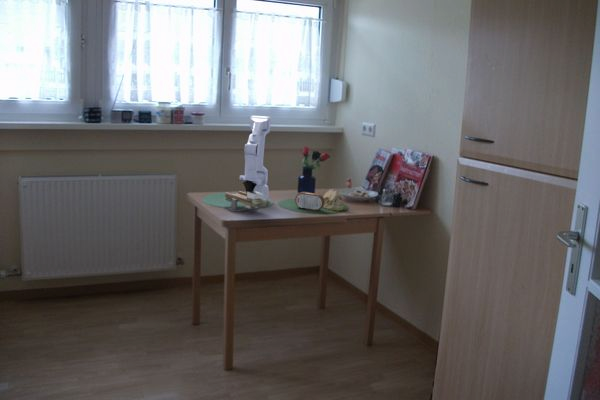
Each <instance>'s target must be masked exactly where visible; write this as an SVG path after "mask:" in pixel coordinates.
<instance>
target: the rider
mask: <svg viewBox="0 0 600 400" xmlns="http://www.w3.org/2000/svg"><path fill="white" fill-rule="evenodd" d="M247 199H248V200H251V201H252V200H261V199H263V193H260V192H257V191H249V192H247Z"/></svg>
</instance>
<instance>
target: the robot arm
mask: <svg viewBox="0 0 600 400" xmlns="http://www.w3.org/2000/svg"><path fill="white" fill-rule="evenodd" d="M249 119H250V120H249V126H250V129H251V132H252V133H250V134H249V136H248V139H247V143H246V144H244V149H243V150H244V174H240V175H239V180H243V182H242V184H243V186H244V189H245V191H246V192H245V193H247V192H249V191H257V192H260V193H263V199H268V203H269V202H270V200H269V190H270V189H269V185H267V184H268V179H269V176H268V172H269V171H268V169H267V168H266V167H265V166H264V156H265V155H264V154H265V144H266V143H265V142H266V141H265V140H266V136H267V134H269V133H270V131H271V125H272V124H271V117H270V116H262V115H251V116H250V118H249Z"/></svg>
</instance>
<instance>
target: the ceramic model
mask: <svg viewBox="0 0 600 400" xmlns="http://www.w3.org/2000/svg"><path fill="white" fill-rule="evenodd" d="M322 197H323V198H324V200H325V204H324V206H323V207H324V208H323V209H325V208H327V209H326V210H328V209H330V210H329V211H333V210H337V211H342V210H344V205H342V201H343V199H344V198H343V197H342V195H341V194H340V193H339V192H338V190H336V189H335V188H332V189H331V188H330V189H329V190H328V191H326V192H325V193H324V194H323V196H322Z"/></svg>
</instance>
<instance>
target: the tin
mask: <svg viewBox="0 0 600 400" xmlns="http://www.w3.org/2000/svg"><path fill="white" fill-rule="evenodd" d="M294 200H295V205H296V206H297V207H298V208H300V209H302V208H305V209H304V210H309V209H312V210H311V211H316V210H317V211H319V210H321V209H324V208H323V206H324V204H325V200H324V198H323V196H322V195H321V194H320V193H315V192H309V191H301V192H299V193H297V195H296V196H295V199H294Z"/></svg>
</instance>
